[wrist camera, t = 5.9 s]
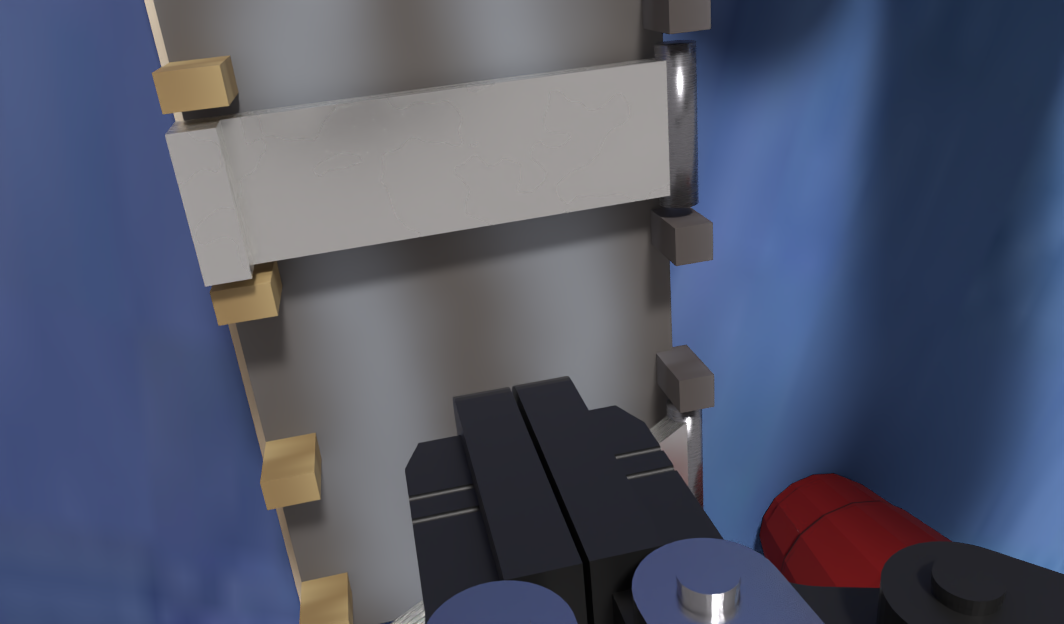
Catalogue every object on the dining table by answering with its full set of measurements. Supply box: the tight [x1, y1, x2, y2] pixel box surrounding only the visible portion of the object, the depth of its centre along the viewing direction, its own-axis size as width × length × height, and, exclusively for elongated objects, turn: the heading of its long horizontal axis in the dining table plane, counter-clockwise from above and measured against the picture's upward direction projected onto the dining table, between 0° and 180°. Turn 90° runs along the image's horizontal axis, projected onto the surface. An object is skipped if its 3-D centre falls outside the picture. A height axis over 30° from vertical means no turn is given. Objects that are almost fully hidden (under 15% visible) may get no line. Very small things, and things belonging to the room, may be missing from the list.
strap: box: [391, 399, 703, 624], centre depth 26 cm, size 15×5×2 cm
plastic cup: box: [759, 473, 952, 588], centre depth 37 cm, size 11×11×12 cm
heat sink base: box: [144, 0, 714, 624], centre depth 29 cm, size 16×28×8 cm, turn 6°
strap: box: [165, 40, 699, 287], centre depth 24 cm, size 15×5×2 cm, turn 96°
